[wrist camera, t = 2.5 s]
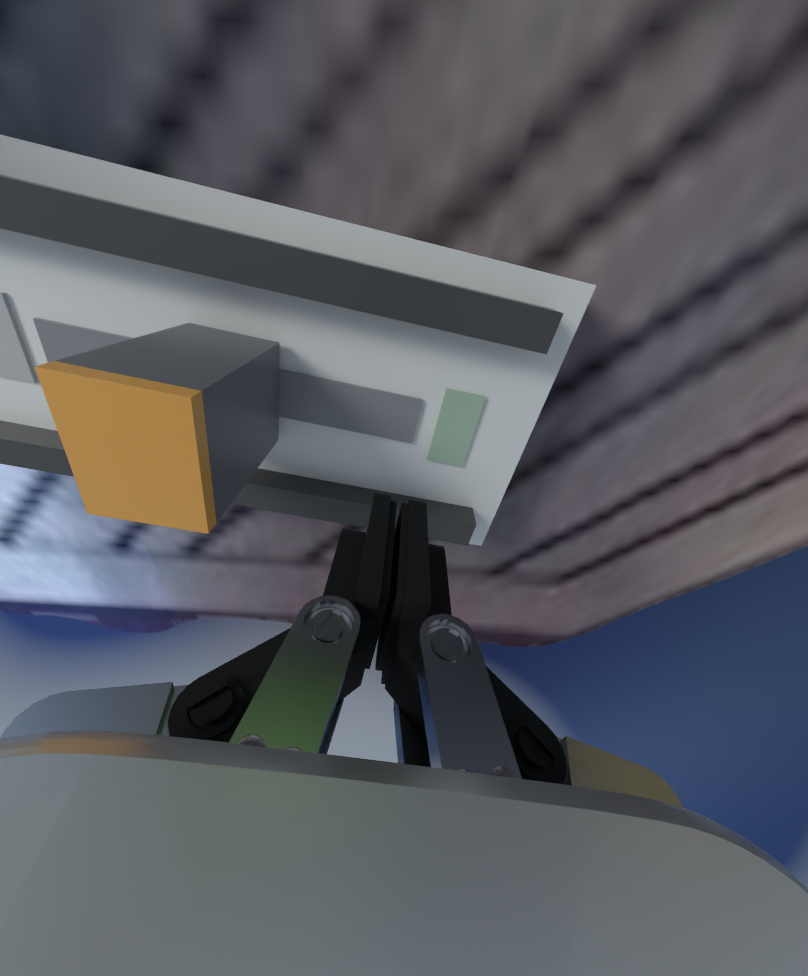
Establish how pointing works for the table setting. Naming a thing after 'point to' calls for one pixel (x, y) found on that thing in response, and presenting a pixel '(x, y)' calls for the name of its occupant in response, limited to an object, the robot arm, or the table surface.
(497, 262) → the breaker panel
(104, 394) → the block
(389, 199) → the table surface
